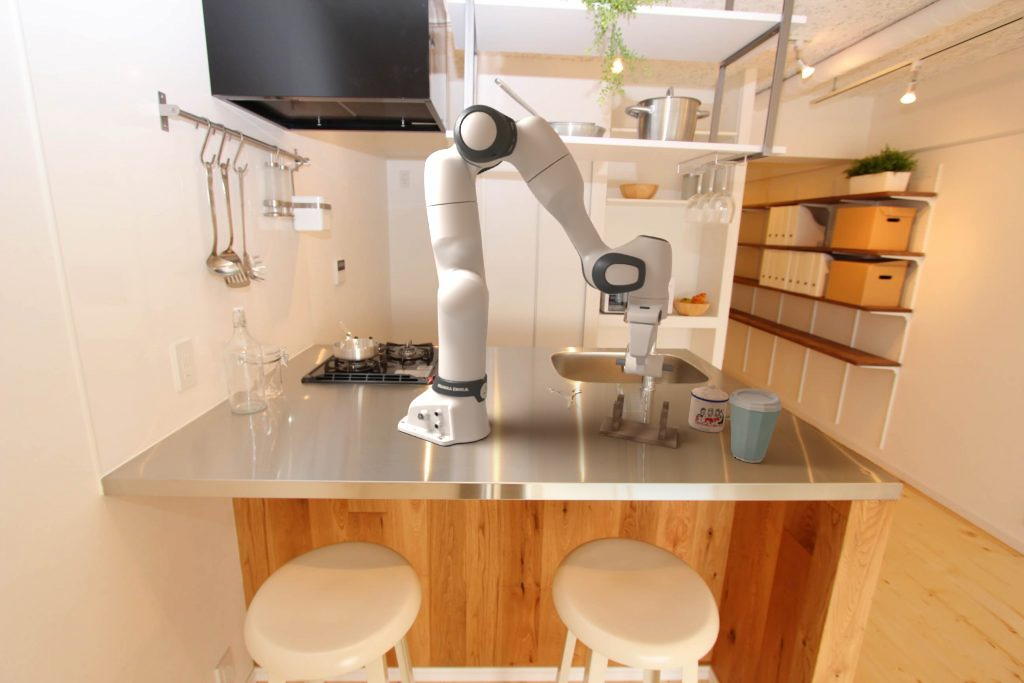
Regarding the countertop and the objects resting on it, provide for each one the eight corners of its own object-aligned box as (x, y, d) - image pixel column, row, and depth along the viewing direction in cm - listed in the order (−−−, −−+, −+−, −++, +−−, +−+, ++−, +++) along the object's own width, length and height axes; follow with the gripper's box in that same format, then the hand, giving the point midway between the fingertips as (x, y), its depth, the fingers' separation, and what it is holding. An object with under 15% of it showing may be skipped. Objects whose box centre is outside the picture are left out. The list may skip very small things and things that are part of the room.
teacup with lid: (691, 431, 121) (697, 388, 118) (683, 418, 129) (688, 377, 127) (741, 435, 119) (748, 391, 117) (729, 421, 128) (735, 380, 125)
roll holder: (598, 434, 117) (601, 403, 115) (606, 419, 126) (608, 390, 124) (675, 448, 111) (679, 416, 109) (677, 432, 120) (681, 402, 118)
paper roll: (615, 375, 114) (613, 366, 110) (618, 356, 116) (617, 347, 112) (672, 382, 109) (672, 374, 105) (674, 363, 111) (675, 353, 107)
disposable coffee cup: (747, 471, 101) (759, 404, 98) (709, 449, 111) (718, 388, 108) (783, 463, 105) (795, 399, 102) (743, 443, 115) (753, 384, 112)
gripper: (639, 301, 118) (634, 355, 122) (626, 314, 100) (621, 377, 103) (665, 303, 116) (660, 358, 119) (657, 317, 98) (651, 381, 101)
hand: (642, 367), depth 111 cm, fingers closed on paper roll, 5 cm apart
